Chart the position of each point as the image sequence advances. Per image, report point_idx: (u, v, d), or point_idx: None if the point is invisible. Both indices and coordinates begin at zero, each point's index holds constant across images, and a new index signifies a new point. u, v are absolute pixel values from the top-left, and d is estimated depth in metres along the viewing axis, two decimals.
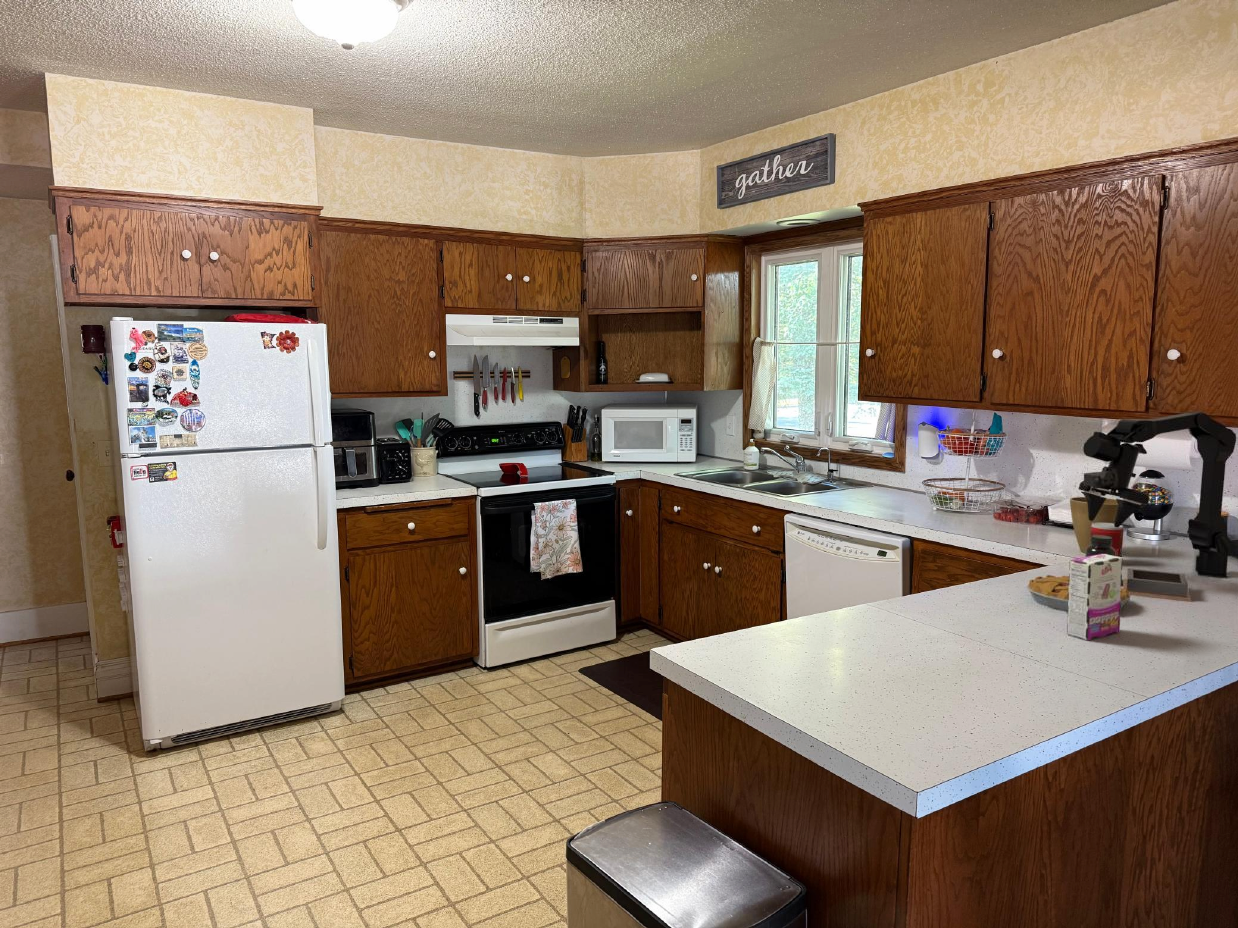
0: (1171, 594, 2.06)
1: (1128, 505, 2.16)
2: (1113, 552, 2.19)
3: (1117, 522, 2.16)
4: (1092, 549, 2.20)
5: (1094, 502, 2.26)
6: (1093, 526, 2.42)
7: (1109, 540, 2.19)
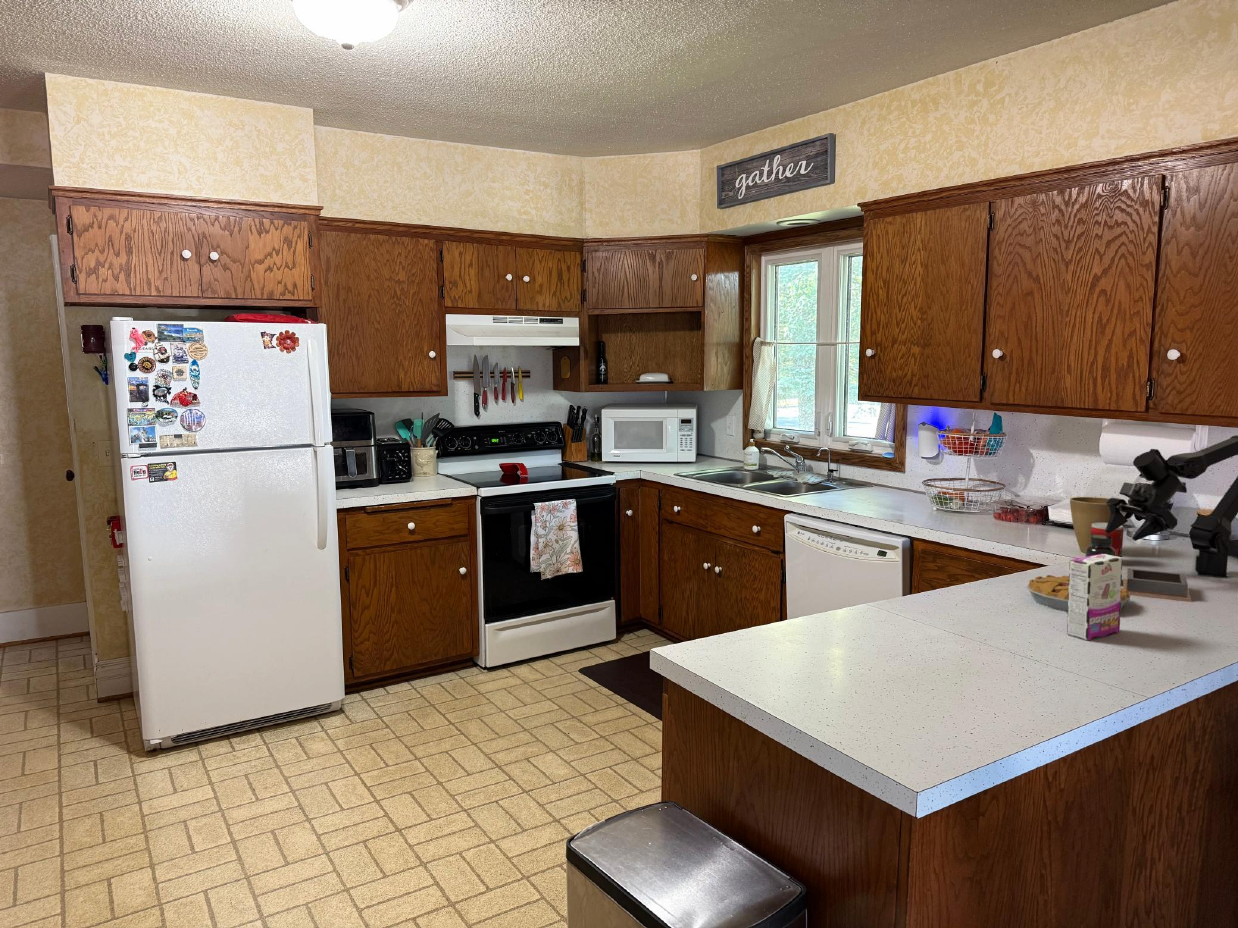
0: (1171, 594, 2.06)
1: (1153, 524, 2.17)
2: (1113, 552, 2.19)
3: (1137, 535, 2.17)
4: (1092, 549, 2.20)
5: (1117, 518, 2.27)
6: (1093, 526, 2.42)
7: (1109, 540, 2.19)
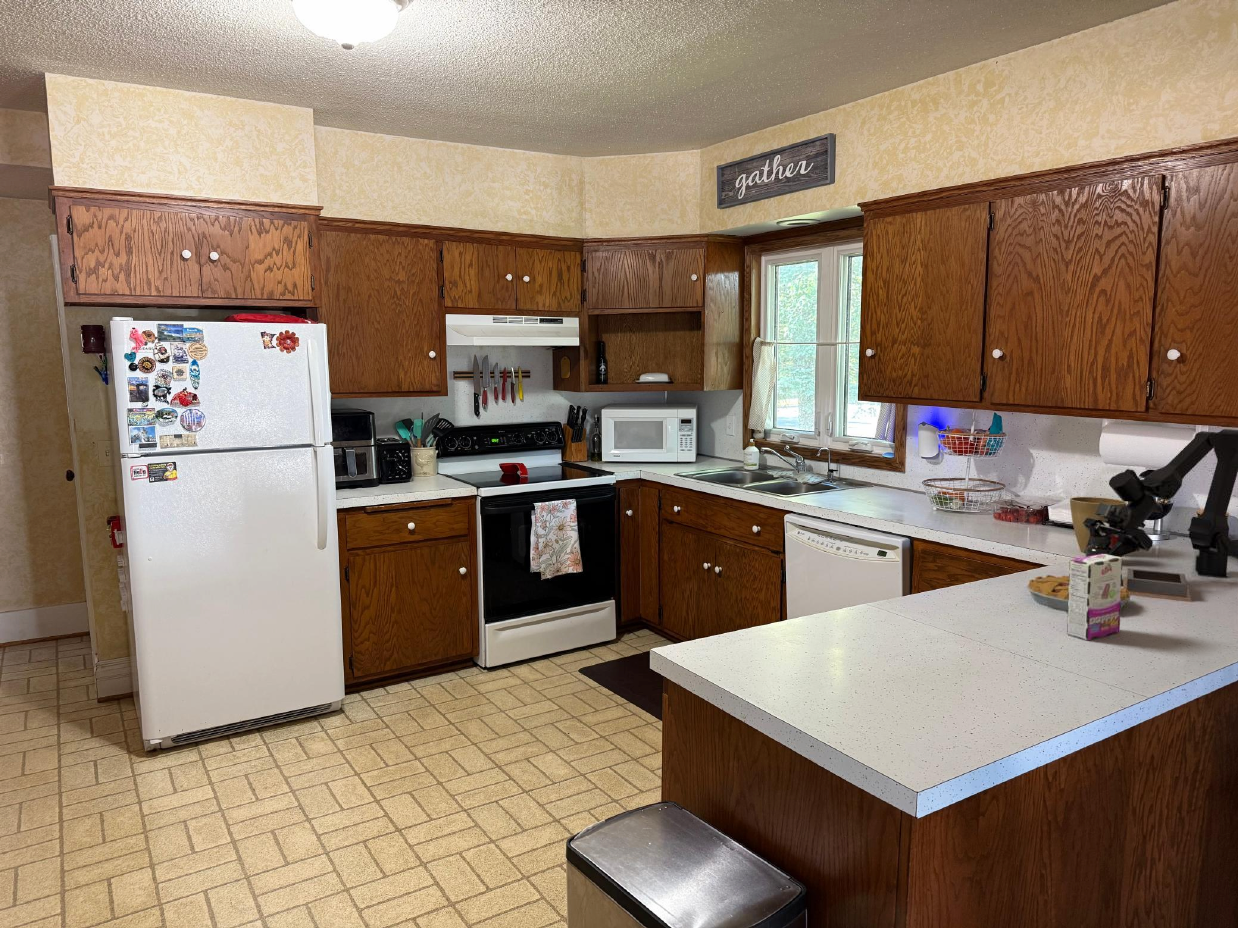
0: (1171, 594, 2.06)
1: (1126, 544, 2.17)
2: None
3: None
4: (1091, 549, 2.20)
5: None
6: None
7: (1109, 540, 2.19)
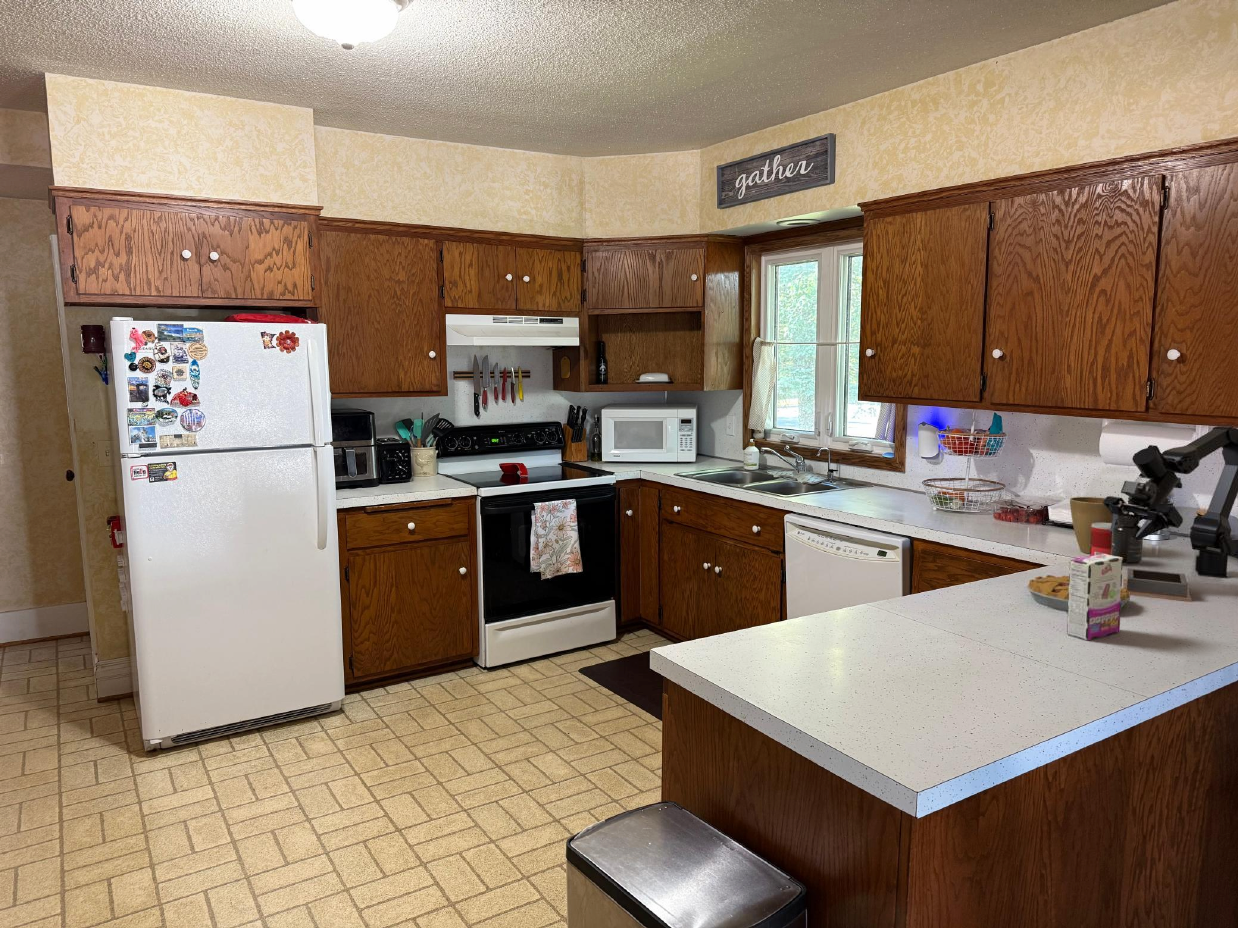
0: (1171, 594, 2.06)
1: (1155, 522, 2.12)
2: None
3: (1140, 534, 2.12)
4: (1120, 528, 2.14)
5: None
6: (1093, 526, 2.42)
7: (1137, 518, 2.13)
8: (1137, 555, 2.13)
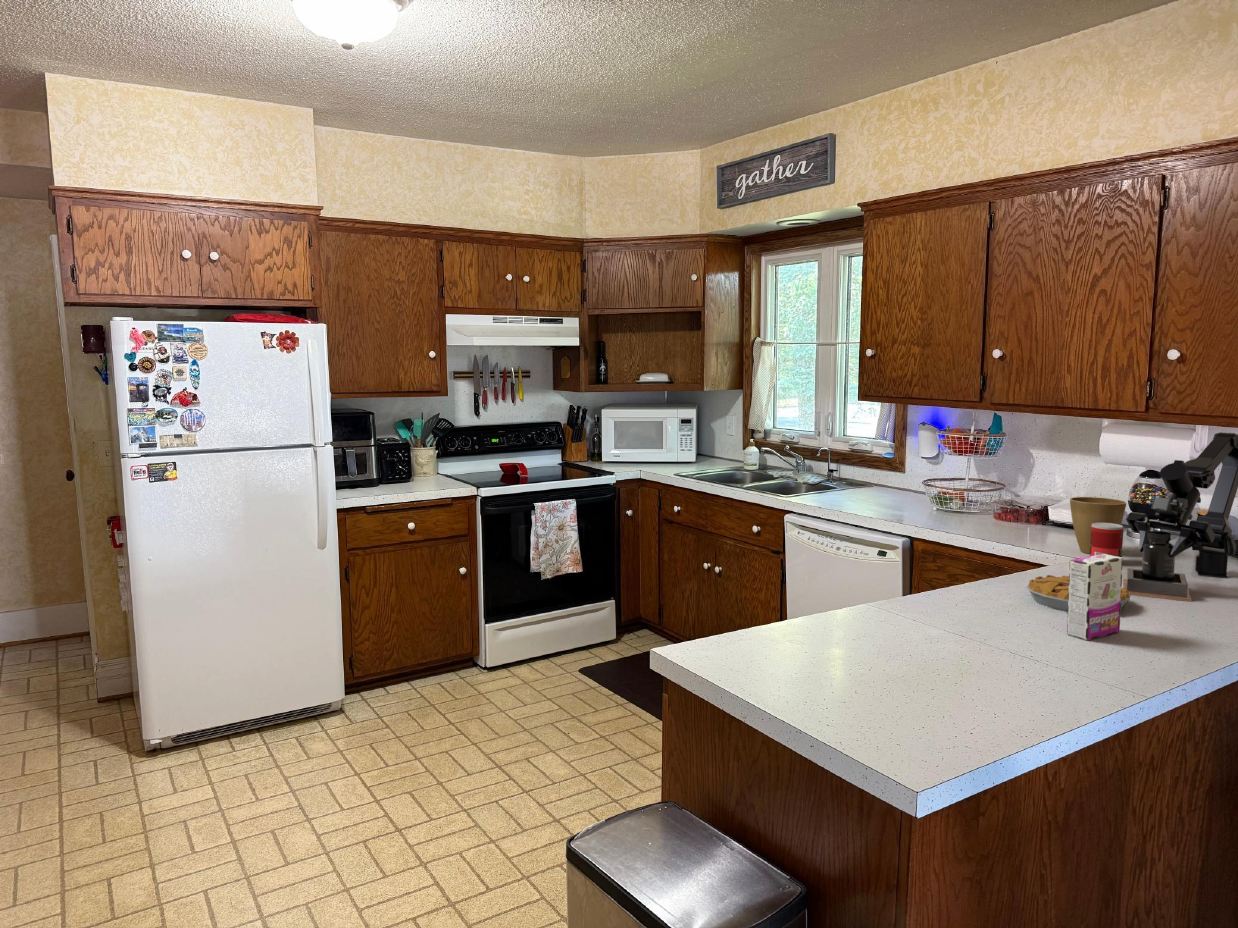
0: (1171, 594, 2.06)
1: (1186, 538, 2.09)
2: None
3: (1174, 551, 2.08)
4: (1154, 546, 2.09)
5: (1147, 534, 2.15)
6: (1093, 526, 2.42)
7: (1169, 535, 2.09)
8: (1171, 573, 2.09)
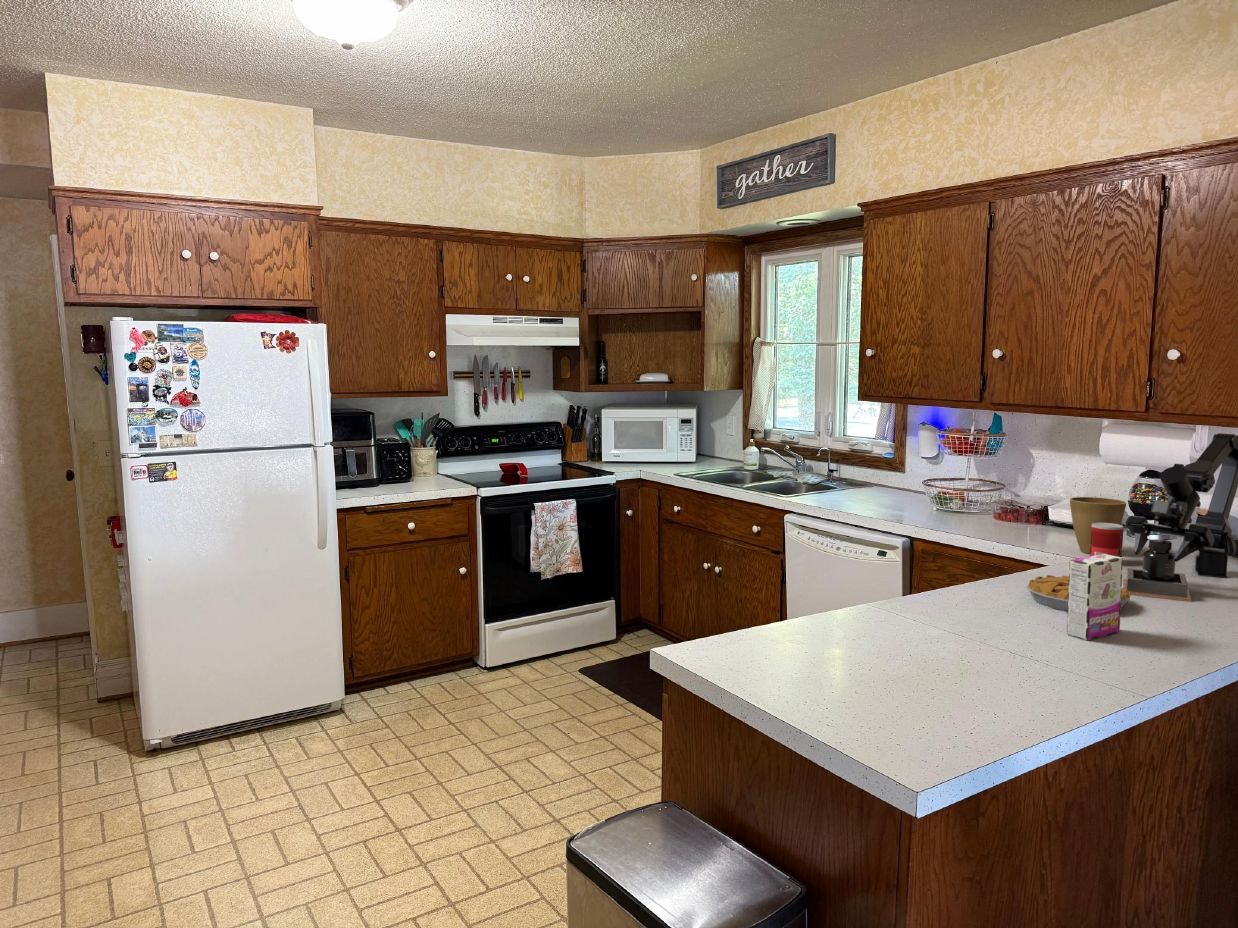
0: (1171, 594, 2.06)
1: (1191, 543, 2.08)
2: None
3: (1178, 556, 2.07)
4: (1155, 555, 2.09)
5: (1142, 537, 2.16)
6: (1093, 526, 2.42)
7: (1171, 544, 2.09)
8: None
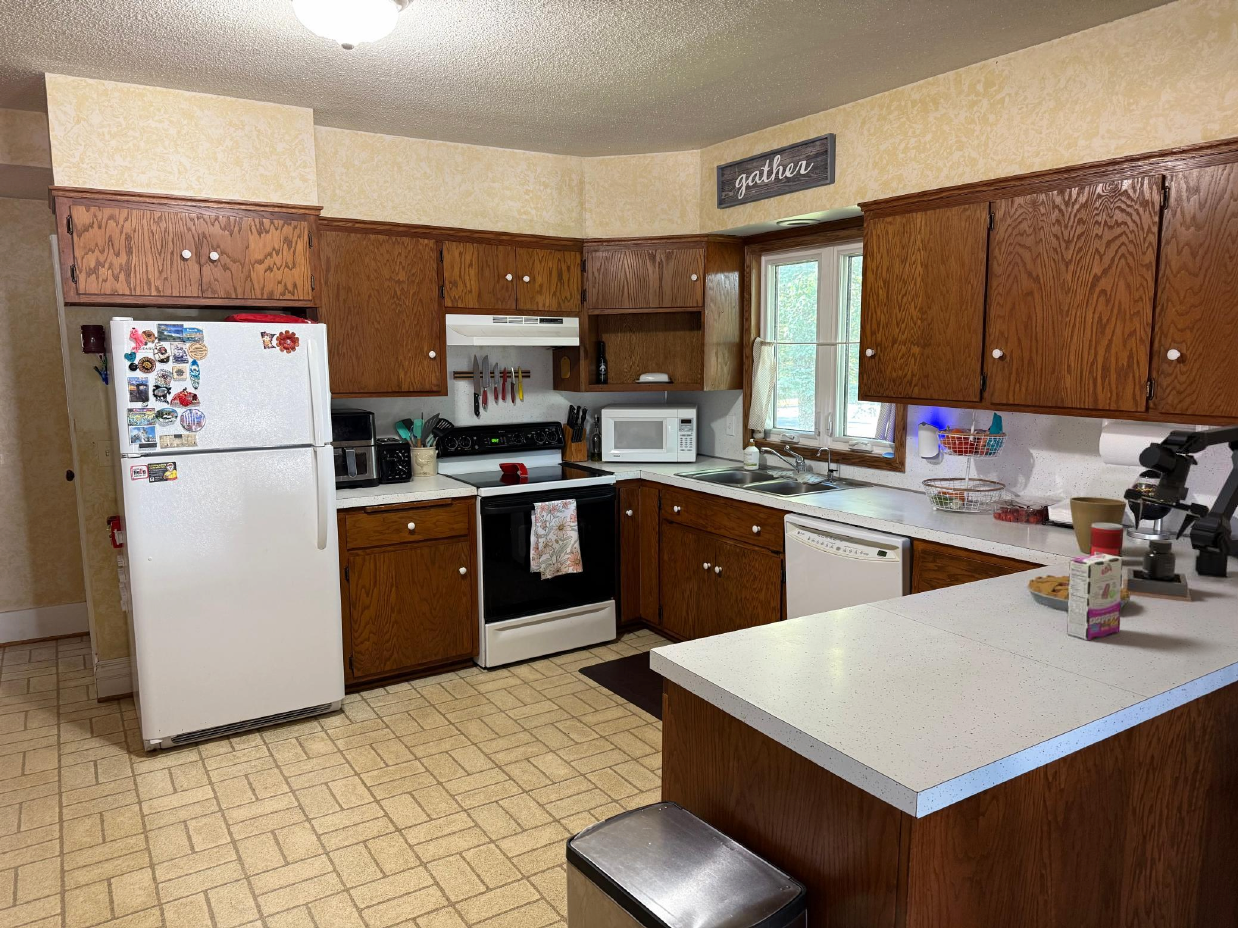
0: (1171, 594, 2.06)
1: None
2: (1175, 557, 2.09)
3: (1180, 535, 2.18)
4: (1155, 555, 2.09)
5: (1140, 511, 2.24)
6: (1093, 526, 2.42)
7: (1171, 544, 2.09)
8: None
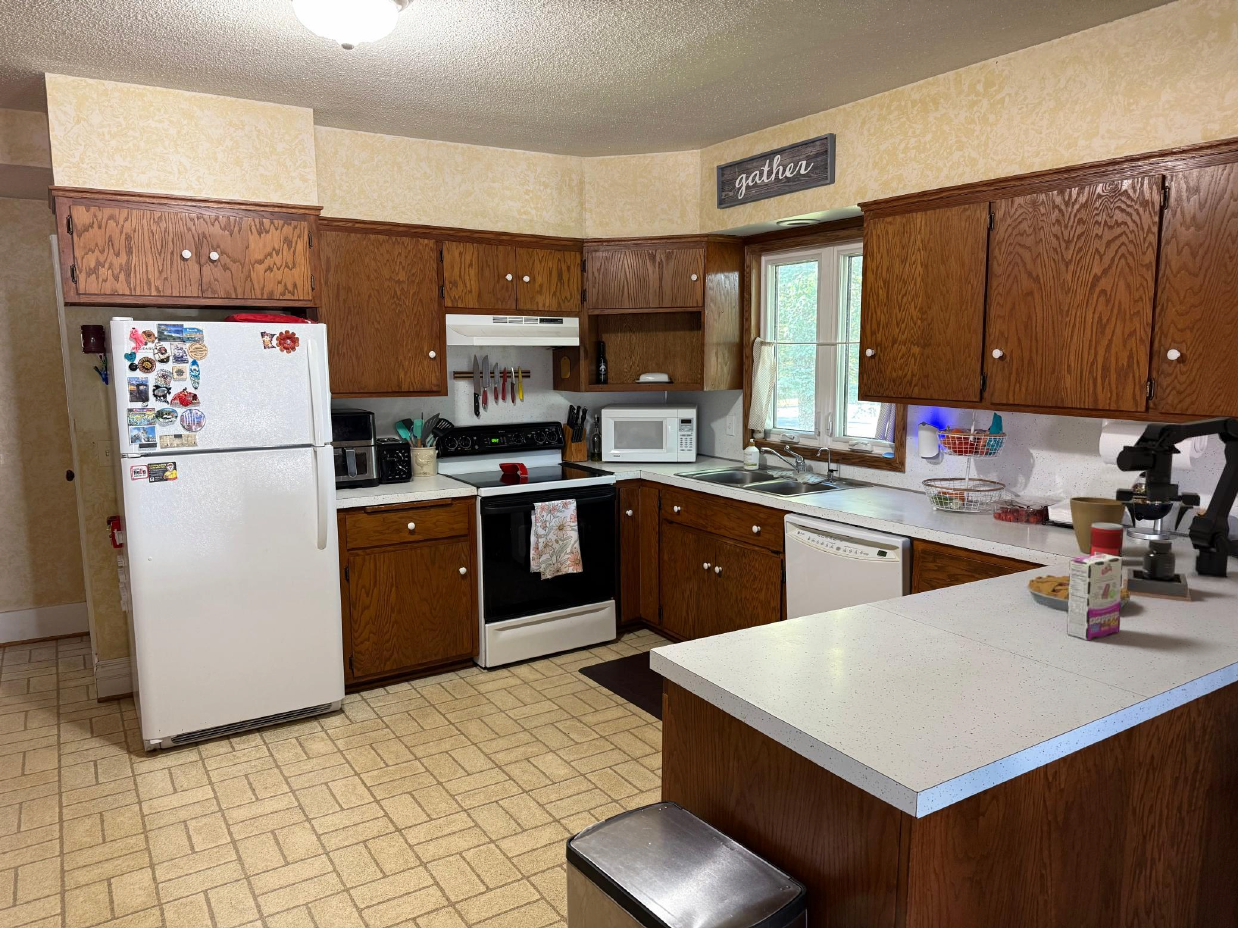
0: (1171, 594, 2.06)
1: None
2: None
3: None
4: (1155, 555, 2.09)
5: None
6: (1093, 526, 2.42)
7: (1171, 544, 2.09)
8: None
